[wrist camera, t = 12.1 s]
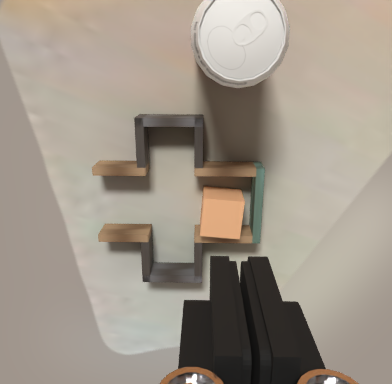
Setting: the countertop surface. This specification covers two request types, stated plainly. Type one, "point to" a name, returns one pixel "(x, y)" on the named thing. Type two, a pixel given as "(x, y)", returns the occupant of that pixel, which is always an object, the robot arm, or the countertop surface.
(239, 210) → the block
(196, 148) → the trap channel
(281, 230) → the countertop surface
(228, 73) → the supplement can
